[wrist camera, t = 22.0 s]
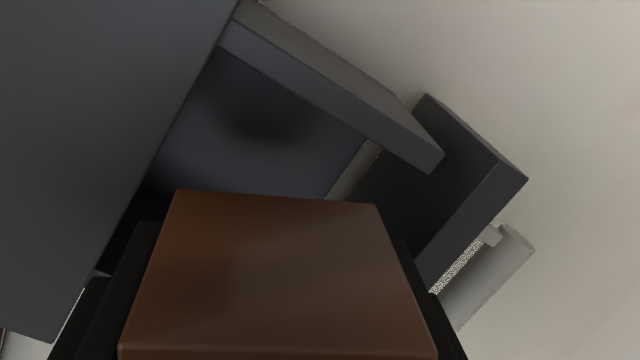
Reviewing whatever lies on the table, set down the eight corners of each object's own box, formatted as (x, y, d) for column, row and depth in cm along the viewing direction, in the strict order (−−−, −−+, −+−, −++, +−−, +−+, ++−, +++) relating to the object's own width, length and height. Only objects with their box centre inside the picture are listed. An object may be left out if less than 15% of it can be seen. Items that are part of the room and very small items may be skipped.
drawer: (517, 154, 21) (622, 240, 14) (380, 312, 24) (418, 434, 18) (166, -85, 15) (99, -108, 9) (53, 162, 19) (-51, 265, 12)
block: (376, 202, 11) (442, 355, 7) (343, 345, 13) (379, 529, 9) (175, 186, 10) (115, 346, 6) (173, 340, 12) (126, 538, 8)
